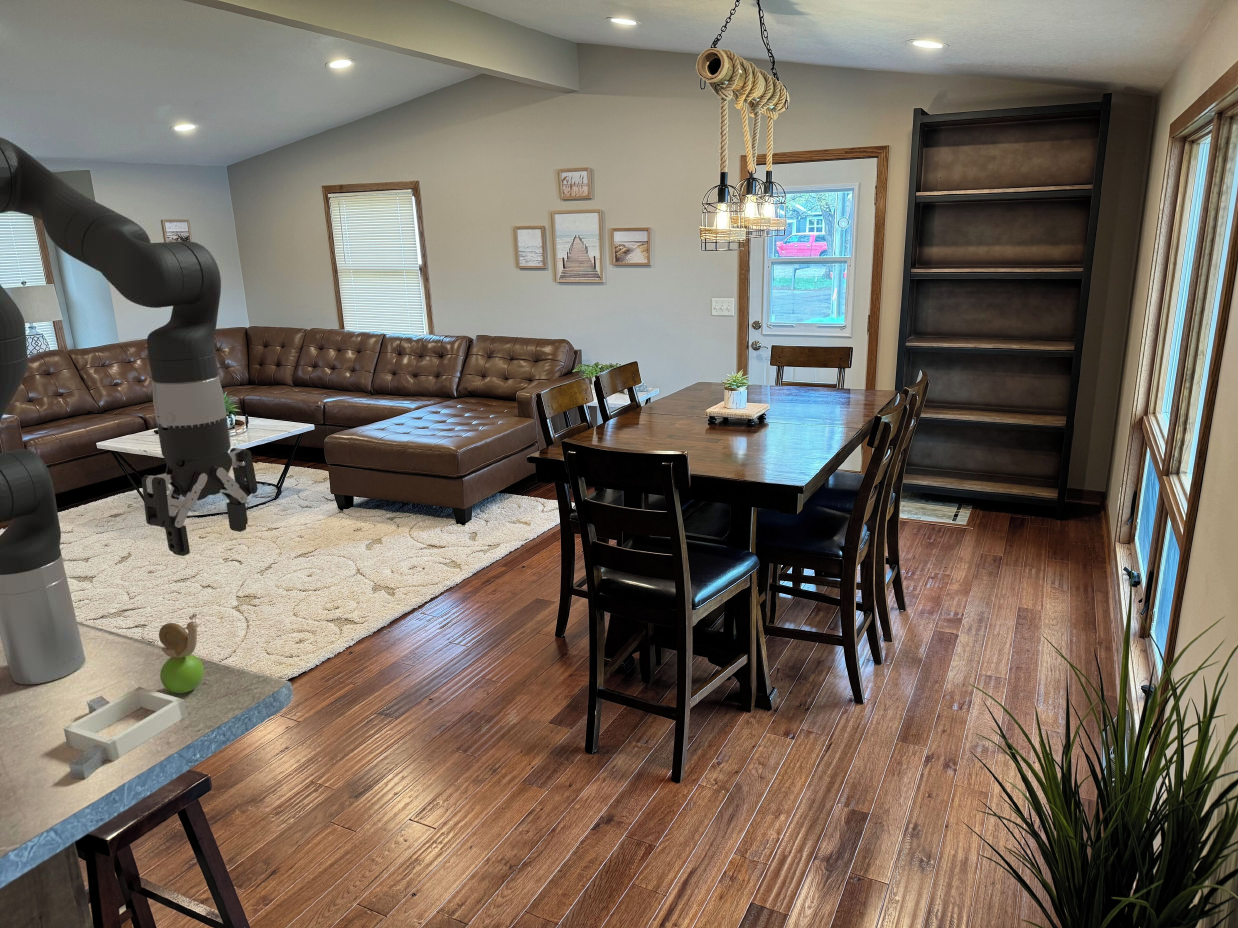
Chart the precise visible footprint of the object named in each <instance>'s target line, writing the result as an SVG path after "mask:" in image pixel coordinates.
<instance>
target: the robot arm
mask: <svg viewBox="0 0 1238 928" xmlns="http://www.w3.org/2000/svg"><path fill="white" fill-rule="evenodd" d="M9 212H15V213H20V214H22V215H23V214H24V215H28V216H31V217H33V218H36V219H39V220H40V221H42V224H43V228H44V230H45V232H46V234H47V237H49V239H50V240H51V242H53V244H54V245H55V246H56V247H57V248H59V249H60V250H62V251H63V252H64V253H65V254H67V255H68V256H70V257H72V258H73V259H75V260H77V261H79V262H81V263H83V264H85V265H87V266H89V267H90V268H92V269H94V270H95V271H98V272H100V273H101V275H102V276H103V277H104V278H105V279H106V280H107V282H108V283H110V284H111V285H112V286H113V287H114V289H116V291H117V292H118V293H119V294H120V295H121V296H123V298H125V299H126V300H127V301H129V302H132V303H133V304H136V305H138V306H140V307H146V308H153V309H159V308H160V309H161V308H167V307H172V310H171V314H170V315H171V316H170V318H169V321H168V322H167V323H166V324H164V325H162V326H160V327H158V328H155V329H154V330H152V331H150V332H149V334H148V335H147V338H146V349H147V357H148V363H149V368H150V369H149V371H150V375H151V380H152V401H153V408H154V409H153V410H154V414H155V415H154V416H155V419H156V420H155V421H156V427H157V433H158V438H159V439H158V440H159V445H160V451H161V455H162V457H163V459H164V461H165V462H166V469H165V472H164V473H162V474H157V475H148V474H145V475H143V477H142V478H141V486H142V497H143V504H144V505H143V506H144V513H145V514H144V515H145V521H146V524H147V525H149V526H156V527H160V528H163V529H164V531H165V536H166V540H167V547H168V550H169V551H170V552H172V553H173V554H174V555H176V556H180V557H185V556H187V555H190V553H191V550H190V544H189V537H188V531H187V530H188V529H187V526H186V525H184V524H185V522H186V520H187V519H186V518H187V517H188V514H189V512H190V511H192V510H193V509H194V508H195V506H196V503H197V501H202V500H205V499H207V497H208V496H214V495H218V494H220V495H222V496H223V498H225V499H226V500H227V501H228V502H226V503H225V504H226V510H227V511H226V512H227V518H228V523H229V524H228V526H229V529H230V530H231V531H233V532H239V533H242V532H244V531H246V530H247V525H248V521H249V520H248V514H247V512H248V511H247V505H246V502H247V500H248V498H249V497H250V496H251V495H256V493H257V492H258V489H259V488H258V481H257V478H256V473H255V467H254V461H253V455H252V451H251V450H250V449H245V448H237V447H233V448H232V447H231V445H232V444H231V438H230V432H229V431H230V430H229V424H228V416H227V410H226V403H225V396H224V395H225V394H224V391H223V387H222V384H221V381H220V376H219V370H218V363H217V356H216V349H215V337H216V336H215V334H216V330H217V323H218V314H219V307H220V301H221V293H222V292H221V291H222V278H221V272H220V268H219V265H218V263H217V262H216V260H215V258H214V255H212V253H211V252H210V251H209V250H208V248H206V247H205V245H202V244H200V243H198V242H195V241H186V240H184V241H183V240H182V241H167V242H166V241H164V242H163V241H162V242H151V239H150V237H149V234H148V232H147V231H146V230H145V229H144V228H143V227H142V226H141V225H140V224H138V223H137V222H135V221H134V220H132V219H130V218H129V217H127V216H125V215H124V214H123V215H122V214H120V213H118V212H116V211H115V210H113V209H111V208H109V207H108V206H105V205H103V204H101V203H99V202H97V201H95V200H94V199H92V198H89V197H88V196H86V195H84V194H83V193H81V192H79V191H78V190H77V189H75V188H73V187H72V186H71V185H69V184H68V183H67V182H65V180H63V179H62V178H60V177H59V176H57V174H55V173H53V172H52V171H51V170H49V169H48V167H46V166H44V165H43V164H42V163H41V162H39V161H38V160H37V159H36V158H35V157H33V156H32V155H31V154H29V153H28V152H27V151H25V150H24V149H22V148H21V147H19V146H18V145H17V144H15V143H13V141H12V142H11V141H10V140H8V139H5V138H4V137H1V136H0V214H5V213H9ZM26 329H27V328H26V322H25V319H24V316H23V314H22V312H21V310H20V308H19V307H18V305H17V303H16V302H15V300H14V299H13V298H12V297H11V295H10V294H9V293H8V292H7V291H6V289H5V288H4V287H3V286H2V285H1V284H0V422H1V420H2V419H3V417H4V414H5V412H6V411H7V409H8V408H9V406H10V404H11V403H12V402H13V399H14V398H15V396H16V394H17V393H18V390H19V388H20V387H21V385H22V383H23V381H24V378H25V375H26V373H27V370H28V363H29V361H28V360H29V359H28V346H27V345H28V344H27V343H28V342H27V332H26ZM231 467H232V471H233V475H234V476H233V477H232V476H230V475H229V473H230V471H231ZM233 478H234V479H233ZM52 479H53V478H52V476H51V474H50V471H49V469H48V466H47V465H46V463H45V461H44V460H43V459H42V458H41V456H39V454H37V453H36V452H34V451H32V450H30V449H25V448H18V449H13V450H9V451H4V452H0V524H2V523H5V522H8V521H10V522H9V524H8V526H7V527H6V528H5V530H4V531H2V533H1V534H0V641H1V644H2V648H3V652H4V655H5V659H6V664H7V668H8V672H9V673H10V675H11V678H12V681H13V682H14V683H16V684H20V685H36V684H37V685H38V684H43V683H49V682H52V681H55V680H59V679H61V678H64V677H67V676H69V675H70V674H72V673H74V672H76V671H77V670H78V669H80V668H81V667H83V665H84V664H85V662H86V655H85V652H84V647H83V642H82V638H81V634H80V630H79V626H78V620H77V616H76V611H75V607H74V603H73V598H72V594H71V590H70V587H69V580H68V577H67V573H66V569H65V565H64V564H65V563H64V560H63V555H62V551H61V538H62V531H61V525H60V520H59V519H60V518H59V512H58V507H57V500H56V494H55V488H54V487H55V486H54V482H53V480H52ZM169 485H170V486H171V487H169ZM180 497H183V499H180Z"/></svg>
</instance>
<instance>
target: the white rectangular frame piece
mask: <svg viewBox="0 0 1238 928" xmlns="http://www.w3.org/2000/svg"><path fill="white" fill-rule="evenodd" d="M86 703H87V707H88V713H89V714H87V715H86V716H84V717H82V718H80V719H78V720H76V721H75V722H73V723H71V724H69V725H67V726H66V727H64V728H63V733H64V736H65V737H64V738H65V740H66V744H67V747H70V748H74V749H76V750H79V751H82V752H83V753H82V754H80V756H78V757H77V758H76V759H74V760H73V761H72V762H71V763H70V764H69V765H68V766H69V769H70V774H71V778H72V779H80V780H81V779H82V780H86V779H87V778H89V777H90V776H91V775H92V774H93V773H95V771H97V770H98V769H99V768H101V767H102V766H103V765H104V764H105V763H106V762H108V761H112V762H115V761H116V760H118V759H119V758H121V757H122V756H125V755H126V754H128V753H129V752H131V751H132V750H134V749H135V748H138V746H141V745H142V744H144V743H145V742H147V741H149V740H150V739H152V738H153V737H155V736H157V735H158V734H161V733H162V732H163V731H165V730H166V729H168V728H170V727H172V726H173V725H175V724H176V723H178V722H179V721H181V720H183V719H185V718H186V717H187V716H188V715H187V709H186V705H185V700H184V699H183V698H180V697H177V696H176V697H175V696H173V695H170V694H167V693H166V694H165V693H162V692H159V691H156V690H152V689H149V688H148V689H147V688H145V687H141V686H138V687H136V688H134V689H132V690H131V691H129V692H127V693H126V694H124V695H122V696H120V697H117V699H115V700H113V701H111V702H110V701H109V700H107V698H105V697H103V695H100V696H97V697H95V698H93V699H90V700H87V702H86ZM141 708H143V709H147V710H150V711H153V713H152V714H150V715H149V716H147V717H146V718H143V719H141V720H140V721H138V722H137V723H135V724H133V725H131V726H130V727H129V728H127V729H125V730H123V731H122V732H120V733H118V734H116V735H115V736H113V737H112V738H109V737H107V736H104V735H101V734H98V733H99V732H100V731H103V730H104V729H106V728H107V727H109V726H111V725H113V724H115V723H116V722H118V721H120V720H122V719H123V718H125V717H127V716H128V715H130V714H132V713H134V712H135V711H137V710H139V709H141Z"/></svg>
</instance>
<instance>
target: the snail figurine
mask: <svg viewBox="0 0 1238 928" xmlns="http://www.w3.org/2000/svg"><path fill="white" fill-rule="evenodd" d="M197 615H198V614H197V613H196V612H195V613H193V614H192V615H190V616H189V617H188V618H189V620H190V621H189V622H188V623H187V624H186V629H187V630H186V629H185V628H184V627H183V626H182V625H180V624H178V623H175V622H168V623H164V624H163V625H162V626H161V627H160V629H159V630H158V631H159V632H158V639H159V641H160V643H161V644H162V645H163V647H161V650H162V652H163V654H165V656H167V657H169V659H168V658H167V660H166V661H165V662H164V663H163V665H162V667H161V668H160V669H161V670H160V674H159V675H160V676H159V678H160V681H161V685H163V687H164V688H165V689H166V690H167V691H170V693H171V692H172V693H173V694H174V693H175V694H185V693H189V692H191V691H192V690H194V689H196V688H197V687H198V686H199V685H200V683H201V682H202V680H203V678H204V673H205V671H204V670H205V669H204V665H203V663H202V661H201V659H199V658H198V657H197V656H196V655H193V653H194V651H195V650H196V647H197V642H198V641H197V640H198V632H197V631H198V623H197V619H196V618H197ZM194 619H195V621H193V620H194Z"/></svg>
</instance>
